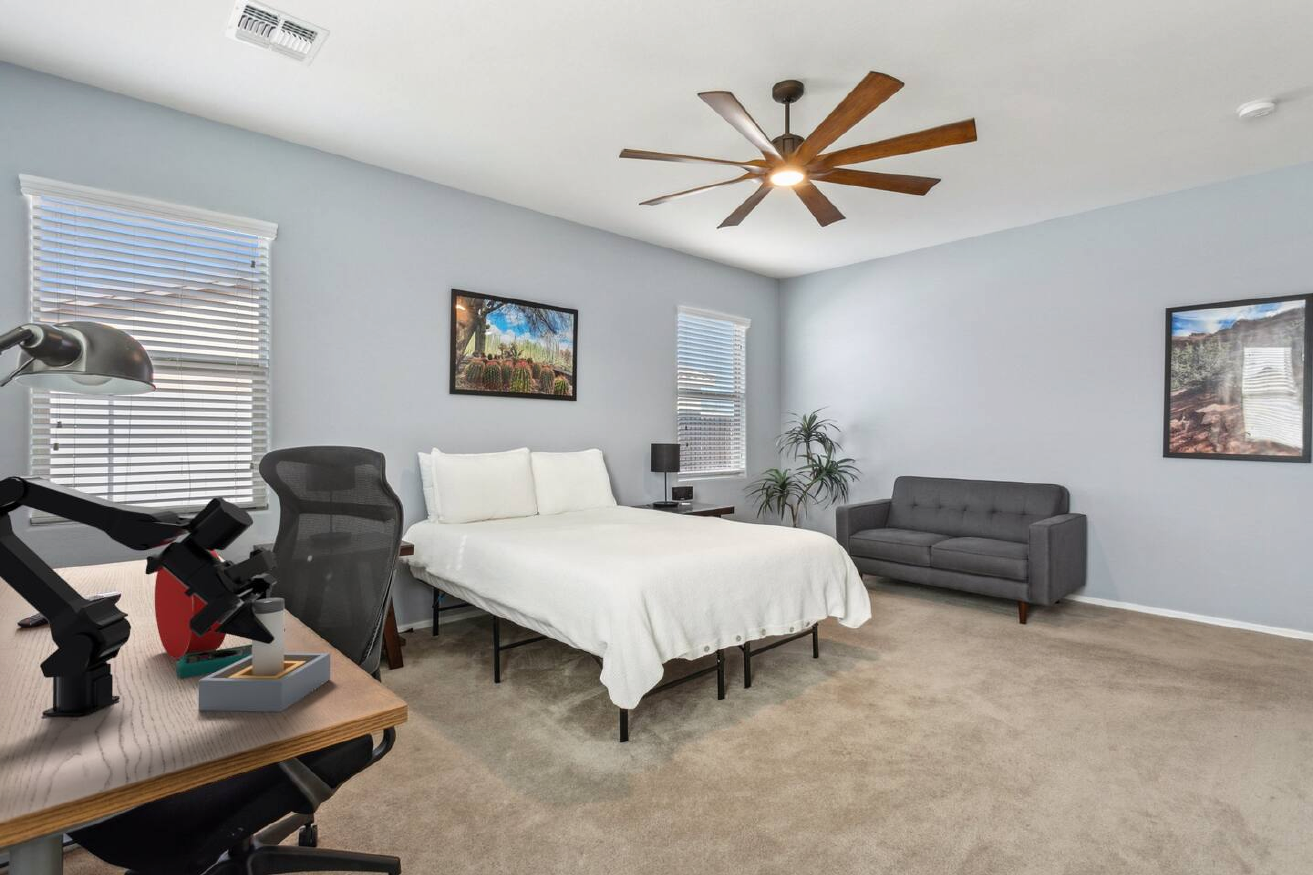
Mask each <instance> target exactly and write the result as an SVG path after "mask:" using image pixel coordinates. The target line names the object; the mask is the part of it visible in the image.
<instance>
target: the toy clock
mask: <svg viewBox="0 0 1313 875" xmlns="http://www.w3.org/2000/svg"><path fill="white" fill-rule="evenodd" d="M210 552H211V553H212V554H213V555H215V556H216V557H217V558H218V559H219V560H220V561H222V559H221V558H220V556H219V555H218V554H217V552H216V551H215V550H214V551H210ZM187 589H188V588H187V587H186V586H184V585H183V584H182V583H181V582H180V581H178V580H177V579H176V578H175V577H174V576H173V575H171V574H170V573H169V572H168V571H167V570H166V569H164V568H163V569H162V570H160V571H158V572H156V577H155V585H154V612H155V613H154V614H155V621H156V626H157V632H158V635H159V638H160V641H161V644H162V646H163V648H164V650H165V652H166V654H167V655H168V656H169V657H171V659H175V660H180V659H181V658H182V657H183V656H184V655H185V654H191V653H198V652H206V651H213V650H219V648H220V647H221V646H222V645H223V643H224V640H225V638H226V636H227V634H224V633H215V632H214V631H215V630H216V629H217V628H218V627H219V626H220V625H221V624H219V623H218V622H216V623H215V624H214V625H212V626H211V627H210V628H211V630H210V631H209V632H208V633H206V634H204V635H203V636H201V637H198V636H197V635H196V634H195V633H194V632H193V631H191V630H190V619H192V618H193V617H194V616H195V615H196V614H197V613H198V612H199V611H200V610H201V609H202V608H203V607H204V606H206V605H207V604H205V603H204V602H203V601H202V600H201V599H200V598H198V597H197V596H196V595H193V596H190V597H188V596H187V595H186V594H185V593H184V592H185V591H186V590H187Z"/></svg>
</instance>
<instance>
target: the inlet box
mask: <svg viewBox="0 0 1313 875" xmlns="http://www.w3.org/2000/svg"><path fill="white" fill-rule="evenodd" d="M328 680H329V681H331V653H330V652H328V653H327V652H323V653H322V652H284V671H282V672H280V673H278V674H277V675H275V676H252V655H250V656H248V657H246V658H244V659H242V660H240V661H238V662H236V663H233V664H231V665H229V666H227V667H225V668H223V669H221V670H219V671H217V672H214V673H210V674H208V675H207V676H204V677H203V678H201V679H199V680H198V708H197V709H198V711H227V712H228V711H230V712H233V711H234V712H238V711H239V712H280V713H281V712H284V711H285V710H286V709H288V708H289V707H291V706H293V705H294V704H296V703H297V702H298V701H300V700H302V699H303V698H305V697H306V696H307V695H306V694H308V693H309V694H310V692H311V691H312V690H314V689H315V688H317V687H318V686H320V685H321V684H322V683H324V684H325V682H326V681H328ZM329 681H328V682H329ZM326 683H327V682H326ZM321 686H322V685H321ZM321 686H320V687H321ZM318 688H319V687H318ZM318 688H317V689H318ZM315 690H316V689H315ZM315 690H314V691H315ZM312 692H313V691H312ZM312 692H311V693H312ZM309 694H308V695H309ZM305 695H306V696H305ZM304 696H305V697H304ZM302 697H303V698H302ZM301 698H302V699H301ZM292 704H293V705H292Z"/></svg>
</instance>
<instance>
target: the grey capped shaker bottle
mask: <svg viewBox="0 0 1313 875" xmlns="http://www.w3.org/2000/svg"><path fill="white" fill-rule="evenodd" d="M252 611H253V613H254V615H255V616H256V617H257V618H258V619H259V620H260V621H261V622H262V624H263V625H264V626H265V627H266V628H267V629H268V630H269V631H270V633H271V634H272V635H273V637H274V638H275V639H274V640H273V641H272V642H271V643H270V644H267V643H263V642H259V641H255V640H252V641H251V644H252V676H275V675H277V674H278V673H280V672H282V671H284V653H285V632H284V628H285V598H282V597H270V598H266V599H260V600H256V601H254V602H253V603H252Z"/></svg>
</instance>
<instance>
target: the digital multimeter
mask: <svg viewBox="0 0 1313 875" xmlns="http://www.w3.org/2000/svg"><path fill="white" fill-rule="evenodd" d="M250 655H252V643H251V644H246V645H241V646H239V645H238V646H234V647H229V648H227V647H226V648H221V649H216V650H213V651H206V652H198V653H191V654H185V655H184V656H183V657H182V658H179V659H178V661H177V662H176V675H177V676H178V678H180V679H184V678H190V677H197V676H202V675H209V674H213V673H215V672H217V671H219V670H221V669H223V668H225V667H227V666H229V665H231V664H233V663H236V662H238V661H240V660H242V659H244V658H246V657H248V656H250Z"/></svg>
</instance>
